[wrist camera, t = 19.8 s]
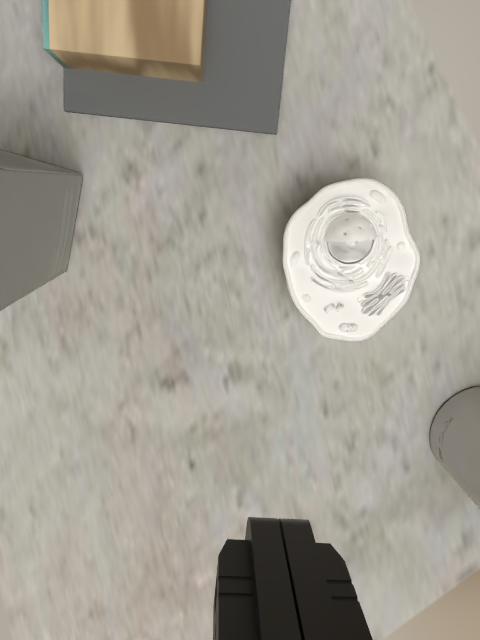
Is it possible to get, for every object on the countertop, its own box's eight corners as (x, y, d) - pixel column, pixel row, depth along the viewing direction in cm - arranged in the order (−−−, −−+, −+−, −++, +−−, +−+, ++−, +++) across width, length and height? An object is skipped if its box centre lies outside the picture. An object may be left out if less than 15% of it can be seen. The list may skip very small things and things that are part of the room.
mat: (295, -47, 31) (296, -50, 30) (275, 134, 34) (276, 133, 33) (64, -79, 30) (62, -82, 29) (65, 111, 32) (63, 110, 32)
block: (206, -43, 27) (40, -63, 26) (200, 65, 28) (43, 48, 28) (207, -11, 31) (63, -28, 30) (202, 82, 32) (64, 68, 31)
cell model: (276, 329, 38) (289, 355, 31) (271, 185, 35) (284, 180, 28) (391, 321, 38) (427, 345, 31) (396, 178, 35) (437, 171, 28)
